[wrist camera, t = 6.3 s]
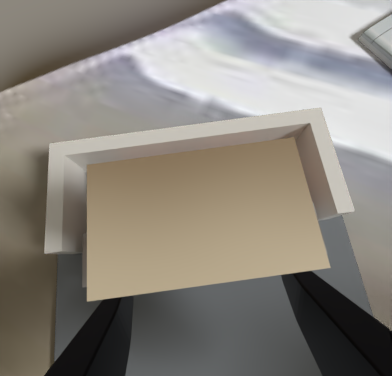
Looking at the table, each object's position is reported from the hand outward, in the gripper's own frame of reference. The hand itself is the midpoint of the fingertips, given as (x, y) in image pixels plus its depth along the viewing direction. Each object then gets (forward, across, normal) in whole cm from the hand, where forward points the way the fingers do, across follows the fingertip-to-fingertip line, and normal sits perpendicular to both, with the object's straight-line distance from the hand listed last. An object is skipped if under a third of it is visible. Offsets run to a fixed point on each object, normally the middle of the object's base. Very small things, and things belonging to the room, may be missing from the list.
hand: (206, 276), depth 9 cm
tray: (+9, 0, +1) cm, 9 cm away
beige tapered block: (+6, 0, +4) cm, 7 cm away
